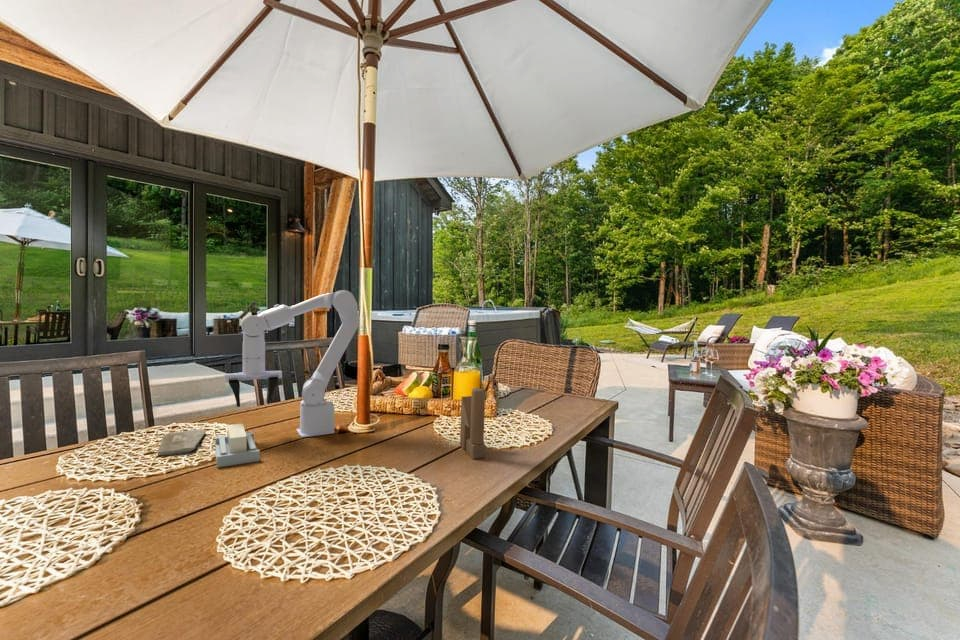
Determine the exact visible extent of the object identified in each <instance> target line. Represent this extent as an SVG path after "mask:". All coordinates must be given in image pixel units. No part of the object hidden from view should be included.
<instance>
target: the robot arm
mask: <svg viewBox="0 0 960 640" xmlns="http://www.w3.org/2000/svg"><path fill="white" fill-rule="evenodd" d="M332 306H333V308H334V309H335V310H336V312H337V313H338V315H339V318H340V321H341V325H340V326H339V329H338V330H337V332H336V333H335V335H334V337H333V339H332V341H331V342H330V344H329V347H328V348H327V350H326V352H325V353H324V355H323V357H322V358H321V361H320V363H319V364H318V366H317V368H316V369H315V371H314V372H313V374H312V375H311V377H310V378H309V379H308V380H306V381H305V382H304V383H303V385H302V392H301V399H302V400H301V401H300V406H299V407H300V408H299V412H300V414H299V418H300V419H299V428H296V432H297V433H298V435H299V436H300V438H308V437H314V436H316V437H317V436H323V435H330V434H335V432H336V431H335V405H334V403H333V402H332V401H327V399H325V396H326V388H327V386H328V385H329V382H330V380H331V377H332V375H333V373H334V371H335V370H336V367H337V366H338V364H339V362H341V361H340V360H341V359H342V357H343V355H344V353H345V352H346V350H347V348H348V346H349V344H350V342H351V341H352V339H353V337H354V335H355V333H356V331H357V329H358V328H359V325H360V319H359V310H358V308H359V307H358V302H357V300H356V298H355V296H354V294H353V293H352V292H351V291H349V290H346V289H342V290H341V289H340V290H337V291H334V292H333V291H332V292H327V293H322V294H319V295H317V296H314V297H312V298H309V299H307V300H304V301H301V302H299V303H296V304H295V305H291V306H288V305H286V304H279V303H277V304H275V305H273V307H271V308H269V309H265V310H264V311H261V310H259V311H257V312H256V314H254V315H253V314H252V315H249V316H247V317H245V318H244V319H243V321H242V322H241V331H242V332H243V335H242V339H243V341H242V371H241V372H233V373H224V374H223V381H224V383H228V384H229V387H230V388H231V390H232V392H233V395H234V399H235V403H236V408H240V407H241V398H240V392H241V391H240V390H241V389H240V388H241V384H240V381H251V380H252V381H254V380H266V404H267V405H270V404H271V402H272V397H273V394H274V391H275V389H276V386H277V385H278V383H279V379H283V371H282V370H266V340H265V332H266V331H273V330H275V329H277V328H280V327H283V326H286V325H289V324H291V323H293V319H294V318H295V317H296V316H299V315H302V314H305V313H308V312H310V311H314V310H317V309H320V308H322V309H323V308H325V309H332Z"/></svg>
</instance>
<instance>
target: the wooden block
mask: <svg viewBox="0 0 960 640" xmlns="http://www.w3.org/2000/svg"><path fill="white" fill-rule="evenodd" d="M485 404H486V389H485V388H479V387H477V388H476V387H475V388H472V389H471V395H470V396H469V395H468V396H461V407H460V408H461V409H460V413H461V414H460V434H459V436H460V437H459V441H460V442H459V446H460V447H461V449H463V450H464V451H465V450H466V451H465V453H466V454H467V455H469V456H470V458H472V460H475V459H477V460H478V459H485V457H486V446H487V445H486V444H485V443H484V438H485V411H486V410H485V409H486V408H485V407H486V405H485Z"/></svg>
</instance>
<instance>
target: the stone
mask: <svg viewBox="0 0 960 640" xmlns="http://www.w3.org/2000/svg"><path fill="white" fill-rule="evenodd" d="M206 432H207V430H206V429H193V430H192V429H191V430H183V431H175V432H174V431H173V432H170V433H165V434H164V435H163V436H162V438H161V441H160V444H159V447H158V450H157V452H156V453H157V455H159V456H172V455H181V454H188V453H190V452H193V451H194V450H195V448H196V447H197V445H198V444H199V443H200V441H201V440H202V438H203V437H204V436H205V434H206Z"/></svg>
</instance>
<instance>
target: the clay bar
mask: <svg viewBox="0 0 960 640" xmlns="http://www.w3.org/2000/svg"><path fill="white" fill-rule="evenodd" d="M246 433H247V432H246V430H245V427H244V424H243V423H237V424H236V423H235V424H228V425H227V436H228V449H229V454H232V453H239V452H246V445H247V436H246Z"/></svg>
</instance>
